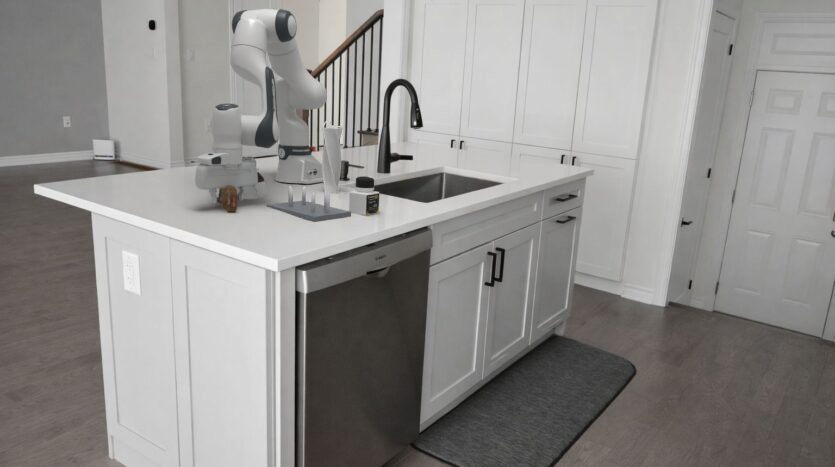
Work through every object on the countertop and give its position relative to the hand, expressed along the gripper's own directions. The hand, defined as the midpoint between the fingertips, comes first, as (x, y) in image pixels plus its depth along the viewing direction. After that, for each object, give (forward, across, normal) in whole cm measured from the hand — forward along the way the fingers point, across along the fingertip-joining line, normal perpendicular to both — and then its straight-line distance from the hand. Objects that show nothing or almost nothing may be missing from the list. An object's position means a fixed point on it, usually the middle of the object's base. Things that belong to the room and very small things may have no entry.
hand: (228, 201), depth 197 cm
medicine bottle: (+3, -34, +26) cm, 43 cm away
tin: (+3, 0, 0) cm, 3 cm away
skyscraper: (+3, -46, -3) cm, 46 cm away
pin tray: (+3, -19, +16) cm, 25 cm away
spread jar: (+3, -15, -10) cm, 18 cm away
